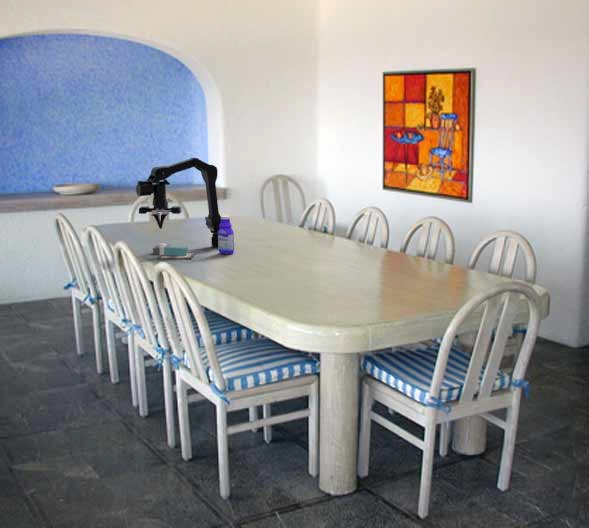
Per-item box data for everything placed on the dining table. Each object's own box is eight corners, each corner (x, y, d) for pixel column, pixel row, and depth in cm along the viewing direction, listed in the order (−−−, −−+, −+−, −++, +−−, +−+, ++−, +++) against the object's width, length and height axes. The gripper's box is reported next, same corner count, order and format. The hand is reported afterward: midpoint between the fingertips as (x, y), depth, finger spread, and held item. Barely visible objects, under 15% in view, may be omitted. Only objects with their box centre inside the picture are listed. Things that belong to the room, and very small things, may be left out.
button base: (170, 251, 361) (170, 245, 360) (168, 254, 354) (168, 247, 353) (156, 251, 361) (155, 245, 360) (153, 254, 354) (152, 247, 353)
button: (167, 249, 359) (166, 243, 359) (165, 251, 355) (165, 244, 355) (158, 249, 359) (158, 243, 359) (156, 251, 355) (156, 245, 355)
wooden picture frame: (194, 254, 353) (194, 251, 353) (190, 259, 342) (190, 256, 342) (161, 254, 353) (161, 251, 353) (157, 259, 342) (156, 256, 342)
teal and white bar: (187, 254, 349) (187, 246, 348) (186, 255, 346) (186, 248, 345) (161, 253, 349) (161, 245, 348) (159, 254, 346) (159, 247, 345)
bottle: (216, 253, 354) (215, 216, 351) (223, 251, 359) (222, 214, 356) (229, 255, 351) (228, 217, 347) (236, 253, 356) (235, 215, 352)
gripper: (182, 192, 360) (183, 226, 363) (142, 192, 360) (144, 226, 363) (178, 195, 349) (180, 229, 352) (137, 195, 349) (139, 229, 352)
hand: (160, 228), depth 355 cm, fingers closed
